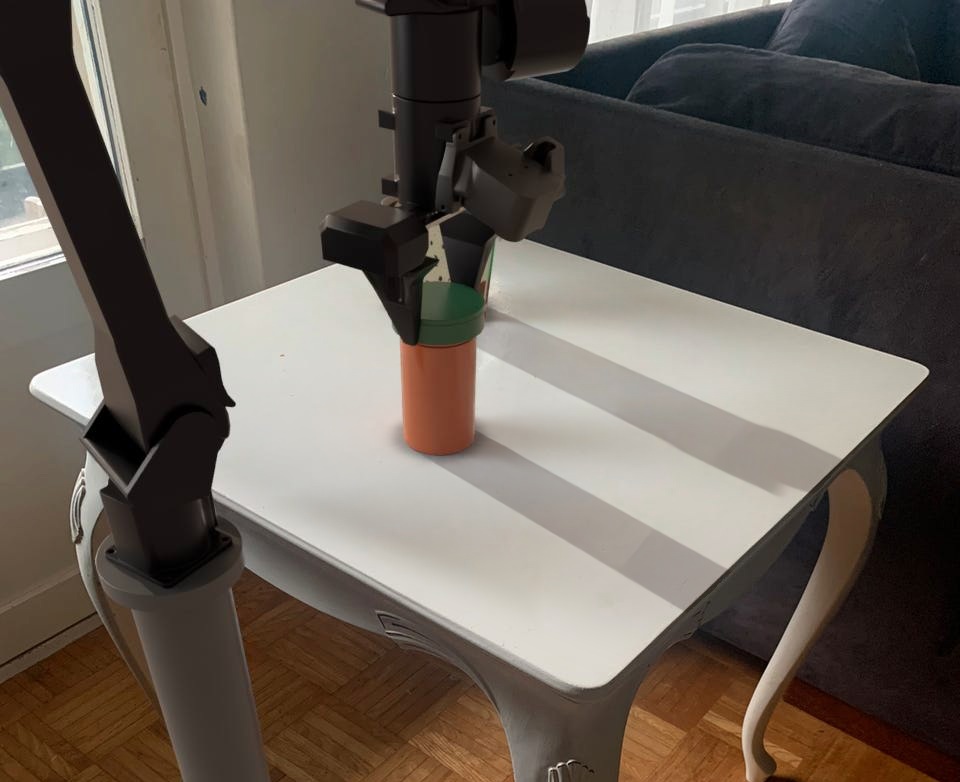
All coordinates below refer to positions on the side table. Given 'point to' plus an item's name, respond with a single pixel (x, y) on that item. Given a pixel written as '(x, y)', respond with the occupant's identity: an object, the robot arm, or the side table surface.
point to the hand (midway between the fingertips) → (438, 326)
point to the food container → (438, 252)
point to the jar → (438, 396)
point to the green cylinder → (450, 313)
